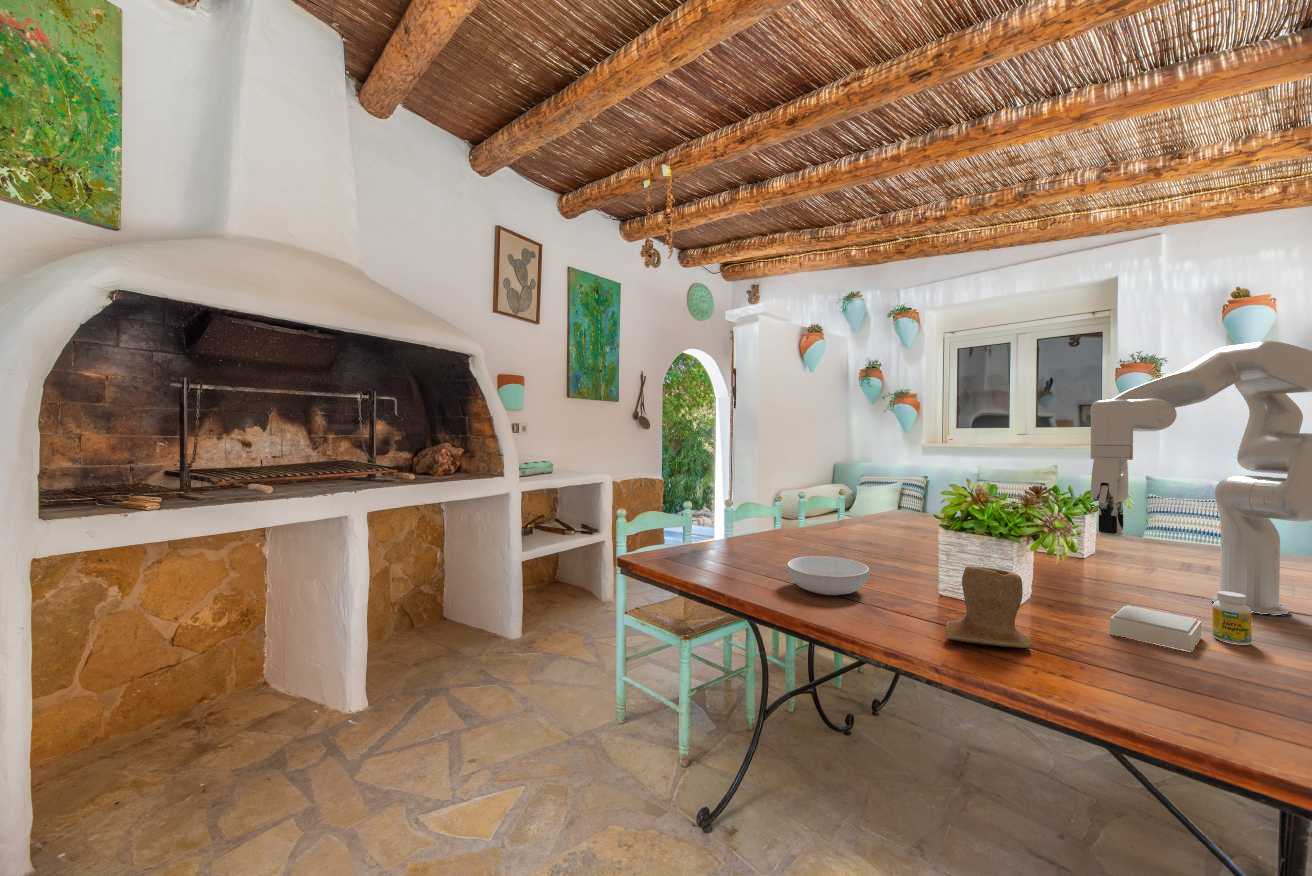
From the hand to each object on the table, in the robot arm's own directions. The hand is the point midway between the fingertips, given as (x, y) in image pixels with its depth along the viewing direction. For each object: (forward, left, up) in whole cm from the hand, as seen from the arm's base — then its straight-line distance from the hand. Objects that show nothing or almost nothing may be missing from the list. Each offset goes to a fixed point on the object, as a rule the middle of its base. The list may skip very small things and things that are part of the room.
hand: (1110, 530), depth 124 cm
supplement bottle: (+2, +19, -20) cm, 28 cm away
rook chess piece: (0, 0, -1) cm, 1 cm away
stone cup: (+41, -12, -20) cm, 47 cm away
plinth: (+11, +9, -19) cm, 24 cm away
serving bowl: (+36, -52, -20) cm, 66 cm away
